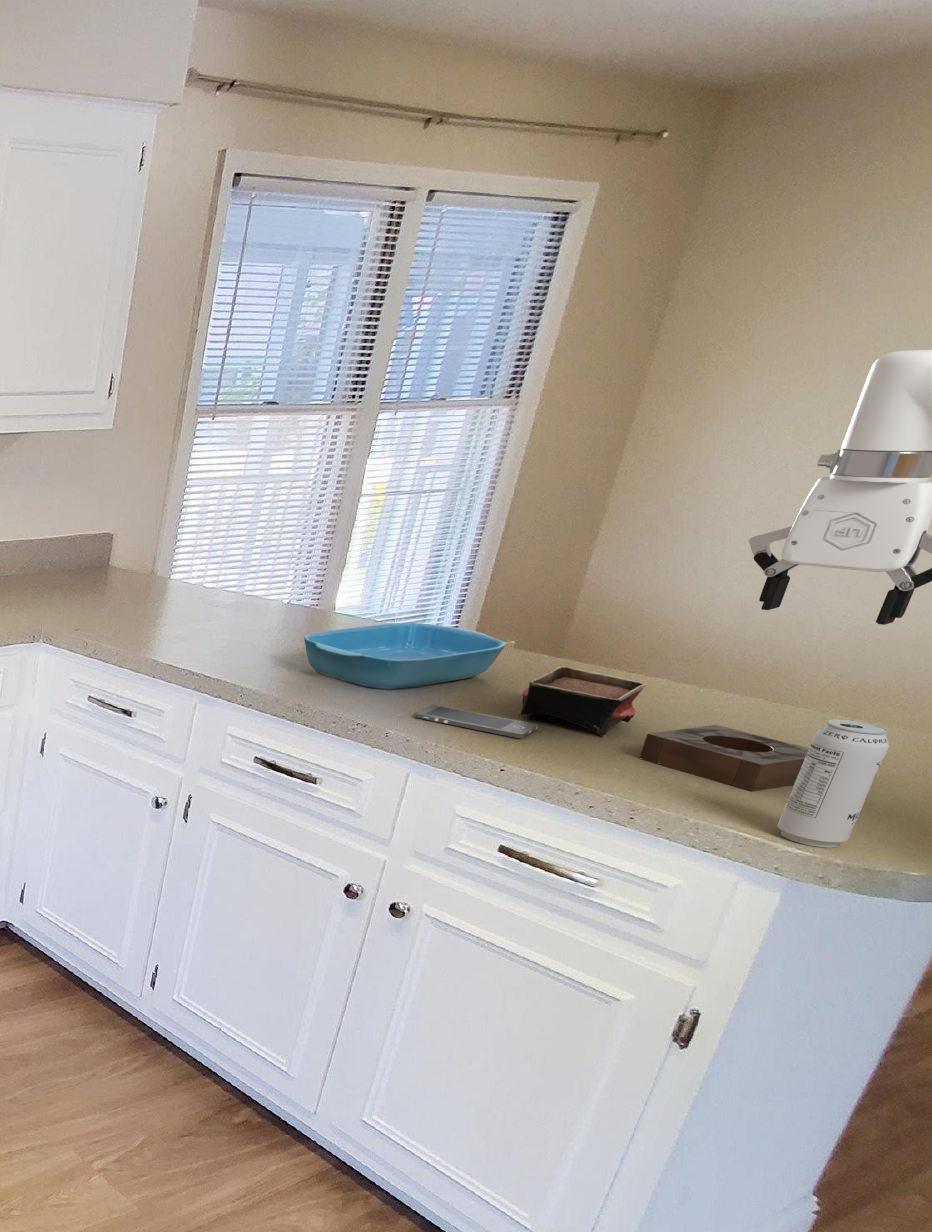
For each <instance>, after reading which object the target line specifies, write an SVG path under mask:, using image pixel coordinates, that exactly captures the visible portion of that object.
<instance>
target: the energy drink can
mask: <svg viewBox="0 0 932 1232" xmlns="http://www.w3.org/2000/svg"><path fill="white" fill-rule="evenodd" d="M888 732H889V731H888V729H887V728H886V727H883V726H880V725H877V724H873V723H869V722H864V721H857V720H851V719H850V720H849V719H830V720H828V721H827V724H826V725H825V726H823V727H822V728H821V729H819V730H818V731H816V732H815V733H814V736H813V738H812V739H811V743H810V745H809V747H808V748H809V750H808V752H807V755H806V757H805V759H804V762H803V764H802V767H801V769H800V772H799V774H798V776H797V779H796V781H795V784H794V785H792V789H791V791H790V793H789V796H788V798H787V800H786V804H785V806H784V808H783V810H782V813H781V815H780V817H779V820H778V823H777V825H776V826H777V828H778V829H779V830H780V831H781V832H780V835H781V836H782V837H783V838H785V839H787V840H789V841H792V842H795V843H798V844H802V845H807V846H811V847H817V848H828V849H829V848H832V849H833V848H837V847H839V844H841V843H845V842H847V841H849V838H850V836H851V834H852V831H853V829H854V827H855V824H856V822H857V820H858V818H859V816H860V814H861V811H862V809H863V807H864V805H865V802H866V800H867V798H868V795H869V793H870V791H871V788H872V786H873V785H874V782H875V779H876V777H877V776H878V773H879V770H880V768H881V766H882V764H883V761H884V759H885V757H886V754H887V752H888V750H889V748H890V742H889V739H888V736H887V733H888Z"/></svg>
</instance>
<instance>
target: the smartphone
mask: <svg viewBox="0 0 932 1232" xmlns="http://www.w3.org/2000/svg"><path fill="white" fill-rule="evenodd" d="M414 718H417V719H423V720H426V721H432V722H436V723H442V724H447V725H451V726H456V727H460V728H466V729H471V730H476V731H481V732H485V733H490V734H491V733H492V734H496V735H500V736H505V737H511V738H516V739H523V738H524V737H525V738H526V736H527V735H528V736H529V735H530V734H531V733H532V732H534V731H536V730H538V727H539V724H537V723H532V722H528V721H522V720H517V719H512V718H508V717H502V716H496V715H493V714H487V713H481V712H476V711H472V710H471V711H470V710H467V709H466V710H465V709H461V708H455V707H451V706H445V705H439V704H431V705H428V706H427V707H425V708H423V709H421V710H418V711H416V712H415V714H414Z"/></svg>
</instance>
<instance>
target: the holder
mask: <svg viewBox="0 0 932 1232" xmlns="http://www.w3.org/2000/svg"><path fill="white" fill-rule="evenodd" d="M808 750H809V747H806V746H801V745H797V744H794V743H790V742H786V741H782V740H778V739H773V738H770V737H766V736H762V735H757V734H754V733H750V732H746V731H742V730H738V729H733V728H730V727H726V726H722V725H719V724H711V725H702V726H696V727H689V728H681V729H673V730H665V731H656V732H651V733H647V734H646V737H645V739H644V742H643V745H642V748H641V751H640V753H639V757H638V759H639V758H642V759H641V760H643V759H645V760H644V761H646V760H648V761H647V762H650V763H653V762H654V764H657V763H660V764H661V766H663V765H665V766H664V767H667V766H668V767H667V768H670V769H674V768H676V769H675V770H677V769H678V771H680V770H681V771H680V772H684V771H685V772H684V773H688V774H691V773H693V774H692V775H694V774H695V776H697V775H699V776H698V777H701V778H704V779H707V780H711V779H712V781H715V782H718V783H721V784H725V785H728V786H732V787H734V788H735V787H736V788H739V789H742V790H746V791H748V792H755V791H761V790H769V789H774V788H783V787H788V786H794V784H795V781H796V779H797V776H798V774H799V772H800V769H801V767H802V764H803V762H804V759H805V757H806V755H807V752H808ZM660 764H659V765H660Z"/></svg>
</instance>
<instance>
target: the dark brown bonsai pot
mask: <svg viewBox="0 0 932 1232" xmlns="http://www.w3.org/2000/svg"><path fill="white" fill-rule="evenodd" d="M528 684H529V685H528V687H527V688H525V689H524V690H523V691H522V698H521V699H522V700H521V701H522V703H521V704H522V705H521V709H520V710H521V711H520V713H519V714H518V716H526V715H527V716H528V715H529V716H530V715H545V714H546V715H550V716H552V717H555V718H558V719H561V720H562V721H566V722H569V723H571V724H574V725H577V726H580V727H582V728H585V729H587V730H589V731H590V732H593V733H595V734H596V735H599V736H600V737H603V738H604V737H605V735H606V734H607V733H608V732H609V731H610V730H611V728H613V727H614V726H616V725H617V724H618V723H620V722H625V723H629V722H630V720H631V719H633V718H634V717H635V715H636V709H635V707H634V705H633V702H634V701H635V700H636V698H637V697H638V696H639V695H640V693H641V692H642V691H643V690H644V689H645V687H646V684H645V683H644V682H641V681H637V680H632V679H628V678H624V677H620V676H615V675H610V674H605V673H601V672H597V671H592V670H585V669H581V668H574V667H570V666H556V667H554V668H552V669H551V670H549V671H548V672H546V673H544V674H542V675H540V676H538V677H536V678H534V679H532V680H530V681H529V683H528Z"/></svg>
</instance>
